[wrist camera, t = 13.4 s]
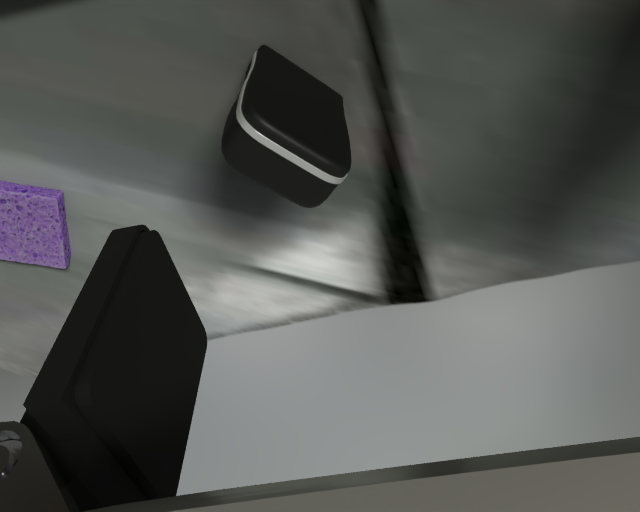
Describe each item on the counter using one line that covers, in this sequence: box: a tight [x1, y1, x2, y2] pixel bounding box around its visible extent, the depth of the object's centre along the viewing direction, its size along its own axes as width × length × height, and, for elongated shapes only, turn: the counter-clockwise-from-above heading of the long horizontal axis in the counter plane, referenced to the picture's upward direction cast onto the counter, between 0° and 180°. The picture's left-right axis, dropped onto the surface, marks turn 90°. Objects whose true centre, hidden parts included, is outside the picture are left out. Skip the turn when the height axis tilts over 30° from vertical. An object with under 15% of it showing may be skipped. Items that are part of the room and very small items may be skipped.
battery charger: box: [222, 45, 351, 208], centre depth 33 cm, size 7×4×11 cm, turn 56°
